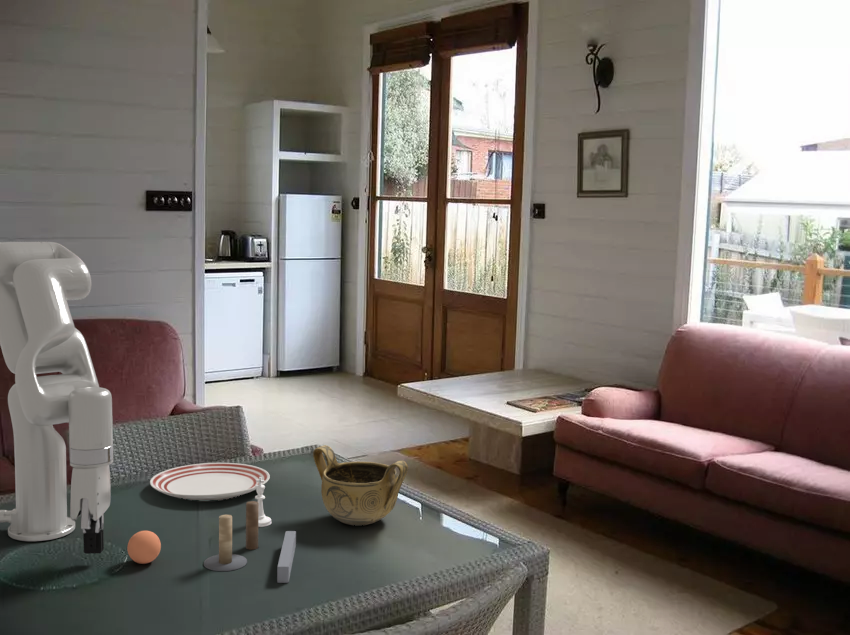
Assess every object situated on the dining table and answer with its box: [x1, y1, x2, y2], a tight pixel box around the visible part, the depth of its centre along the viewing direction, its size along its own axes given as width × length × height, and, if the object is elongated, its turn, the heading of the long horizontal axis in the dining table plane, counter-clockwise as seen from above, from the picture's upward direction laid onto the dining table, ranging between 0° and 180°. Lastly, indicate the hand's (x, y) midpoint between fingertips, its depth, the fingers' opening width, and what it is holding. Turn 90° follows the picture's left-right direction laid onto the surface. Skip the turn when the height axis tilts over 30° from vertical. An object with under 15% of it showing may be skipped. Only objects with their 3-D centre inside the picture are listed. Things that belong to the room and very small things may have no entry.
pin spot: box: [203, 553, 248, 572], centre depth 174 cm, size 8×8×1 cm
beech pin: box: [218, 514, 233, 564], centre depth 174 cm, size 2×2×9 cm
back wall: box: [276, 530, 297, 584], centre depth 175 cm, size 2×18×3 cm, turn 4°
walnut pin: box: [245, 500, 259, 551], centre depth 182 cm, size 2×2×9 cm
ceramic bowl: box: [312, 444, 409, 527], centre depth 199 cm, size 22×17×15 cm
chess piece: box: [254, 477, 272, 528], centre depth 196 cm, size 5×5×10 cm
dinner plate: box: [149, 462, 271, 501], centre depth 218 cm, size 27×27×3 cm
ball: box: [126, 530, 162, 565], centre depth 173 cm, size 6×6×6 cm
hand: (93, 551), depth 172 cm, fingers closed
